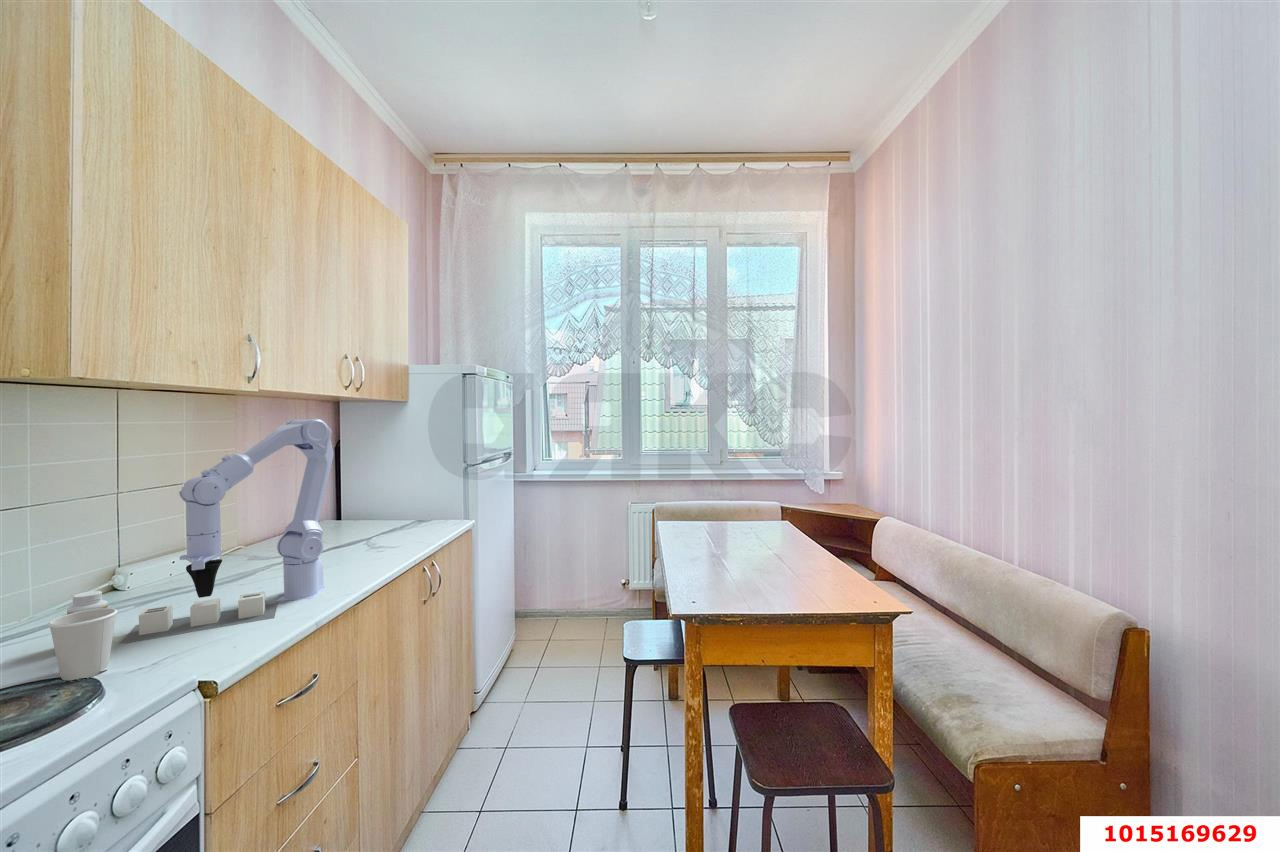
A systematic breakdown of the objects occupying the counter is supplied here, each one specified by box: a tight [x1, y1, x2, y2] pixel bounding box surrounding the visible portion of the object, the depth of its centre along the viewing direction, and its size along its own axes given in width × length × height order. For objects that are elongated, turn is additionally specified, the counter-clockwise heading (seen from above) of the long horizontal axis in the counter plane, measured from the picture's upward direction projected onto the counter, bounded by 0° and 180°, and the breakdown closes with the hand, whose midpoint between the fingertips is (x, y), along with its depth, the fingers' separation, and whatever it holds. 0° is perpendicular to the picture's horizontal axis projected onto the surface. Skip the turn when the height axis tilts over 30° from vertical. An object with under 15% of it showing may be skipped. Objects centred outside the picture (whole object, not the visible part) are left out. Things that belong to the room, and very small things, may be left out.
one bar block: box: [237, 591, 266, 619], centre depth 119 cm, size 4×4×4 cm
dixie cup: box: [47, 607, 118, 681], centre depth 92 cm, size 8×8×10 cm
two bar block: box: [138, 604, 174, 635], centre depth 111 cm, size 4×4×4 cm
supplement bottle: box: [66, 590, 109, 615], centre depth 105 cm, size 6×6×10 cm
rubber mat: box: [117, 602, 279, 645], centre depth 115 cm, size 25×12×1 cm, turn 121°
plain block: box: [189, 598, 221, 627], centre depth 115 cm, size 4×4×4 cm
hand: (205, 596), depth 115 cm, fingers closed
